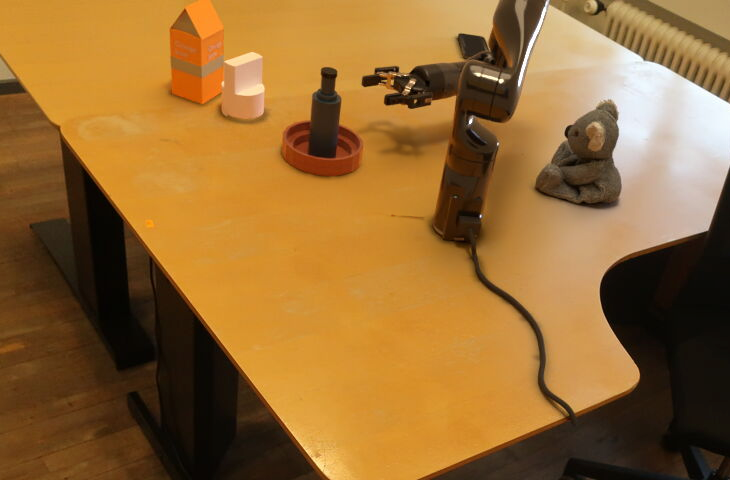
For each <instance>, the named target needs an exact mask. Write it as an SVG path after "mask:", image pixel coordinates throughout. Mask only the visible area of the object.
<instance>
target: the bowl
mask: <svg viewBox="0 0 730 480" xmlns="http://www.w3.org/2000/svg"><path fill="white" fill-rule="evenodd" d="M309 132H310V120H302V121H297V122H293V123H292V124H290V125H288V126H286V128H285V129H284V130H283V131H282V143H281V155H282V157H283V159H284V161H285V162H286V163H288V164H289V165H290V166H292V167H293V168H295V169H297V170H299V171H301V172H304V173H306V174H307V173H308V174H311V175H316V176H323V177H337V176H343V175H347V174H350V173H352V172H354V171H356V170H357V169H358V168H359V167H360V165H362V160H363V152H364V141H363V139H362V138H361V136H360V135H359V134H358V133H357V132H355V131H354V130H353V129H351V128H349V127H347V126H346V125H342V124H340V123H339V130H338V140H337V150H336V158H321V157H315V156H311V155H308V145H309Z"/></svg>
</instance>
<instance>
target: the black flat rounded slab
mask: <svg viewBox="0 0 730 480" xmlns="http://www.w3.org/2000/svg"><path fill="white" fill-rule="evenodd" d="M457 41H458V44H459V47H460V50H461V54H462V57H463V59H465V60H467V59H468V58H470V57H472V56H474V55H476V54H478V53H480V52H482V51H490V48H489V45H488V42H487V40H486V38H485V37H484V36H481V35H477V34H476V35H475V34H468V33H463V32H460V33H458V34H457Z"/></svg>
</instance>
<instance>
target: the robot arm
mask: <svg viewBox="0 0 730 480" xmlns="http://www.w3.org/2000/svg"><path fill="white" fill-rule="evenodd" d="M550 2H551V0H498V3H497V5H496V8H495V11H494V13H493V16H492V27H491V31H490V33H489V37H488V42H487V46H488V49H489V51H482V52H480V53H478V54H476V55H474V56H472V57H470V58H468V59H464V60H463V61H461V60H460V61H453V62H436V63H429V64H428V63H427V64H419V65H417V66H414V67H413V69H412V70H410V71H409V72H401V71H400V67H399V66H398V65H392V66H390V65H389V66H382V67H381V66H379V67H374V70H373V71H374V72H373V74H368V75H363V76H362V77H361V86H362V87H363V88H370V87H377V86H380V87H381V86H382V87H385V88H386V89H387V90H391V91H396V92H392V93H387V94H385V95H384V97H383V104H384V106H386V107H389V106H395V105H396V106H397V105H401V106H407V109H409V110H413V109H414V110H415V109H419V108H423V107H428V106H432V102H434V101H439V100H446V99H450V98H453V97H455V102H454V103H455V104H454V110H453V118H452V124H451V128H450V134H449V139H448V145H447V149H446V153H445V154H446V155H445V158H444V164H443V167H442V168H443V169H442V175H441V180H440V185H439V189H438V194H437V199H436V204H435V205H436V206H435V210H434V215H433V218H432V223H431V224H432V228H433V229H434V231H435V232H436V233H437V234H438V235H440V236H441V237H442V239H443V240H445V241H457V242H469V243H470V250H471V257H472V262H473V265H474V270H475V273H476V275H477V277H479V279H480V280H481V281H482V282H483V284H485V285H486V287H488V288H490V289H491V290H492V291H493V292H495V293H497V294H498V295H500V296H502V297H503V298H504V299H506V300H508V301H509V302H510V303H511V304H512V305H514V306H515V308H517V310H519V311H520V312H521V313H522V314H523V315H524V317H525V318H526V319H527V320H528V321H529V323H530V324H531V326H532V327H533V330H534V331H535V333H536V337H537V340H538V349H539V354H540V355H539V357H540V359H539V360H540V362H539V368H538V374H537V378H538V384H539V386H540V389H541V390H542V392H543V393H544V394H545V396H546V397H547V398H549V399H550V400H551V401H553V402H554V403H556V404H558V405H559V406H560V407H562V408H563V409H564V410H565V412H566V413H567V414H568V416H569V418H570V422H571V425H572V426H573V427H575V428H578V427H579V423H578V419H577V416H576V413H575V411H574V410H573V408H572V407H571V406H570V405H569V404H568V403H567V402H566V401H565V400H563V398H561V397H559V396H558V395H556V394H554V392H552V391H551V390H550V389H549V388H548V386H547V384H546V382H545V369H546V362H547V355H546V347H545V340H544V336H543V333H542V331H541V328H540V326H539V324H538V323H537V321H536V319H535V318H534V316H532V314H531V313H530V312H529V310H527V309H526V308H525V307H524V305H522V304H521V303H520V302H519V301H518V300H517V299H515V298H514V296H512V295H511V294H509V293H508V292H506V291H505V290H503V289H502V288H500V287H498V286H497V285H495V284H494V283H492V281H490V280H489V279H488V278H487V277H486V276H485V274H484V273H483V272H482V270H481V268H480V263H479V259H478V254H477V244H476V238H477V237H478V236H480V232H481V229H482V225H483V224H482V220H483V215H484V211H485V207H486V203H487V199H488V194H489V190H490V186H491V181H492V177H493V173H494V169H495V165H496V161H497V157H498V153H499V149H500V140H499V138H498V136H497V135H496V133H495V132H494V131H492V130H491V129H489V128H488V127H486V125H484V124H483V123H482V122H481V121H480V120H481V119H482V120H485V121H488V122H491V123H495V124H507V123H508V122H509V121H510V120H511V119H512V118H513V116H514V115H515V113H516V110H517V107H518V105H519V102H520V98H521V96H522V95H521V94H522V90H523V87H524V82H525V80H526V79H525V78H526V75H527V71H528V67H529V64H530V60H531V57H532V54H533V51H534V49H535V46H536V44H537V42H538V38H539V36H540V33H541V31H542V28H543V27H544V22H545V19H546V17H547V13H548V10H549V6H550ZM391 81H393V84H391Z"/></svg>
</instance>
